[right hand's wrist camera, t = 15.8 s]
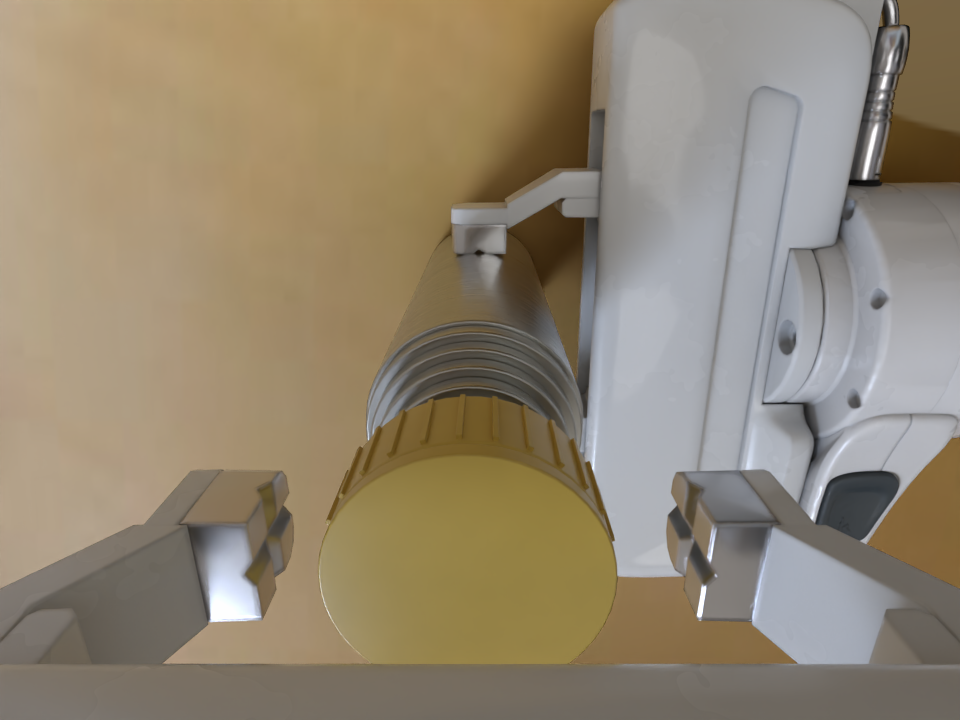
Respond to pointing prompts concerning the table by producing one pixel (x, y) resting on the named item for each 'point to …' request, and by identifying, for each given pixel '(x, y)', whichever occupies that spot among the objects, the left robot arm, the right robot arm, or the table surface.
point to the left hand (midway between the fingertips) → (454, 317)
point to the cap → (468, 540)
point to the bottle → (478, 341)
